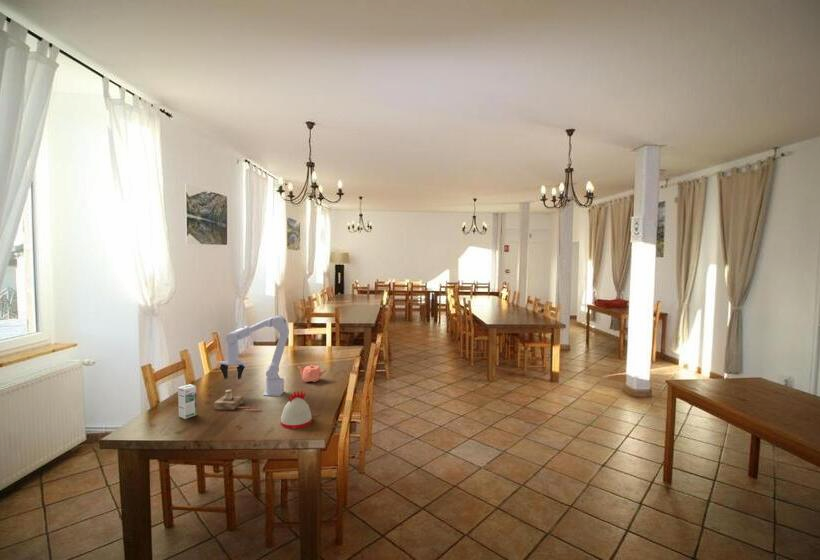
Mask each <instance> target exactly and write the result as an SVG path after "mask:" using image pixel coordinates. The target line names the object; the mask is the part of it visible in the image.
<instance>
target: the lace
mask: <svg viewBox="0 0 820 560" xmlns="http://www.w3.org/2000/svg"><path fill="white" fill-rule="evenodd" d="M235 409H244V410H245V411H246V412H262V411H263V410H262V409H252V407H251V406H238V407H236V408H235Z"/></svg>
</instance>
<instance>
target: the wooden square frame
mask: <svg viewBox="0 0 820 560" xmlns="http://www.w3.org/2000/svg"><path fill="white" fill-rule="evenodd" d="M243 403H244V396H243V395H232V400H231V401H226V395H223V396H221V397H220V398H219V399H216V401H214V402H213V410H221V411H222V410H226V411H227V410H229V411H234V410H235V409H237V408H236V407H240V406H241V405H242V404H243Z"/></svg>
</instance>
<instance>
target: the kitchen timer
mask: <svg viewBox="0 0 820 560" xmlns="http://www.w3.org/2000/svg"><path fill="white" fill-rule="evenodd" d="M305 396H306V392H305V391H303V390H302V389H301V391H300V392H299V390H297V391H296V390H294V391H293V394H292V393H291V394H290V397H291V398H290V397H289V396H287V399H288V402H287V403H286V404H285V405H284V407H283V409H282V413H281V416H280V426H281V427H283V429H289V430H294V429H301V428H305V427H307V426H309V425H310V424H311V423H312V422H313V421H312V412H311V409H310V404H308V403H307V402H306V401H305V400H304V398H305Z"/></svg>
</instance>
